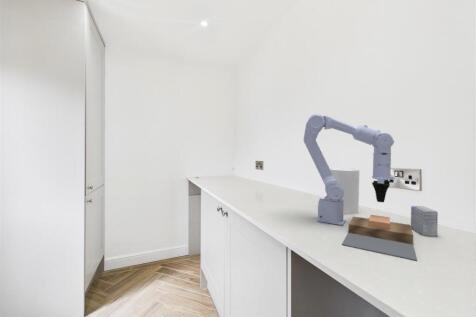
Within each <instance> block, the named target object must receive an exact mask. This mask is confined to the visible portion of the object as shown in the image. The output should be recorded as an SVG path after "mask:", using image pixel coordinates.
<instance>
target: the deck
mask: <svg viewBox="0 0 476 317" xmlns="http://www.w3.org/2000/svg"><path fill="white" fill-rule="evenodd" d="M347 227H348V228H347V229H348V232H347V234H348V233H352V234H358V235H363V236H368V237H374V238H379V239H385V240H390V241H396V242H401V243H407V244H412V245H413V246H414V234H413V229H411V224H408V223H407V224H406V223H400V222H393V221H390V230H388V229H382V228H376V227H370V226H369V218H366V217H359V216H352V218H351V219H350V221H349V222H348V226H347Z"/></svg>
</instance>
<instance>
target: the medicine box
mask: <svg viewBox="0 0 476 317" xmlns="http://www.w3.org/2000/svg"><path fill="white" fill-rule="evenodd" d="M438 216H439V214H438V211H437V210H435V209H432V208H429V207H427V206H424V205H412V206H411V207H410V226H411V229H412V231H415V232H416V233H418V234H420V235H421V236H423V237H436V238H437V237H438V224H439V222H438V218H439V217H438Z"/></svg>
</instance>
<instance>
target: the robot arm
mask: <svg viewBox="0 0 476 317" xmlns="http://www.w3.org/2000/svg"><path fill="white" fill-rule="evenodd" d="M323 128H324V130H329V129H330V130H331V129H333V130H337V131H339V132H343V133H346V134H349V135H352V137H353V139H354V140H355V141H359V142H362V143H364V144H366V145H369V146H371V145H372V147H373V153H372V156H373V157H372V160H373V162H372V176H371V178H372V179H374V180H373V182H371V185H372V187H373V188H374V191H375V192H374V193H375V198H376V201H377V203H384V202H385V200H386V196H387V191H388V189H389V187H390V186H391V180H394V179H395V177H394V176H391V172H392V171H391V170H392V169H391V166H392V165H391V164H392V146H394V143H395V140H394V139H393V136H391V134H389V133H387V132H383V133H381V130H379V129H378V130H376V129H372V128H369V126H368V125H366V124H364V125H358V126H354V125H351V124H349V123H346V122H343V121H341V120H339V119H335V118H334V117H330V116H328V115H322V114H318V113H315V114H312V115H310V116H309V118H308V119H307V122H306V124H305V129H304V134H303V143H304V145H305V147H306V149H307V150H308V153H309V156H310V158H311V159H312V161H313V163H314V165H315V168H316V169H317V172H318V174H319V176H320V178H321V180H322V181H323V184H324V186H325V193H326V196H325V197H324V198H319V199H318V203H317V222H320V223H324V224H325V223H326V224H332V225H338V226H343V225H344V224H345V222H346V221H347V220H346V219H345V218H344V214H343V210H344V199H342V198H343V196H344V190H343V188H342V187H341V186H340V185H339V184H338V183H337V182H336V180H335V178H334V176H333V174H332V172H331V170H330V169H331V168H330V167H329V164H328V162H327V161H326V158H325V156H324V154H323V152H322V150H321V148H320V146H319V144H318V142H317V138H318V136H319V133H321V131H322V130H323Z"/></svg>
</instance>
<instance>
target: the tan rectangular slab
mask: <svg viewBox="0 0 476 317" xmlns="http://www.w3.org/2000/svg"><path fill="white" fill-rule="evenodd" d="M368 219H369V226H370V227H376V228H382V229H388V230H390V222H391V218H390V216H384V215H383V216H382V215H375V214H370V216H369V218H368Z"/></svg>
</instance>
